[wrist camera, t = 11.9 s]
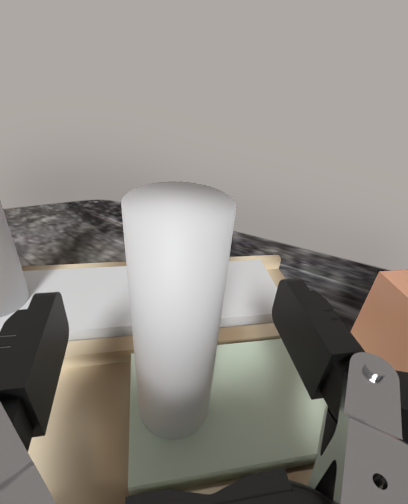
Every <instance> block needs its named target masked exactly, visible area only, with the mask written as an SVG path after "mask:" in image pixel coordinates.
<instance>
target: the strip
mask: <svg viewBox="0 0 408 504" xmlns="http://www.w3.org/2000/svg"><path fill="white" fill-rule="evenodd" d="M47 292H60V293H61V295H62V299H63V303H64V307H65V311H66V315H67V319H68V324H69V339H68V341H78V340H89V339H100V338H111V337H123V336H133V334H132V322H131V311H130V299H129V288H128V276H127V266H117V267H96V268H75V269H54V270H32V271H22V267H21V264H20V261H19V258H18V255H17V252H16V249H15V245H14V242H13V239H12V236H11V233H10V230H9V227H8V224H7V220H6V217H5V214H4V211H3V208H2V205H1V202H0V330H1V328H2V326H3V324H4V322H5V321H6V320H7V319H8V318H9V317H10V316H11V315H13V314H14V313H15V312H16V311H17V310H22V309H28V306H29V304H30V302H31V300H32V297H33V295H34V294H35V293H47ZM276 292H277V287H276V285H275V284H274V282H273V280H272V278H271V277H270V275H269V273H268V272H267V270H266V268H265V266H264V265H263V263H262V261H261V260H244V261H229V263H228V270H227V278H226V285H225V292H224V299H223V307H222V314H221V321H220V328H224V327H235V326H246V325H257V324H269V323H274V322H273V319H272V307H273V303H274V299H275V295H276Z"/></svg>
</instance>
